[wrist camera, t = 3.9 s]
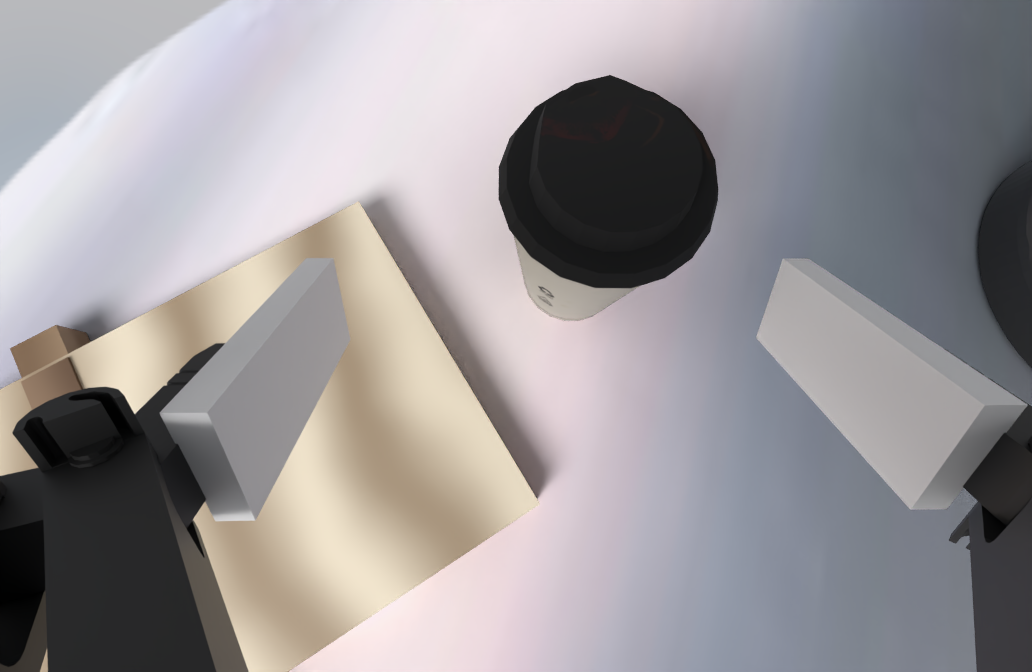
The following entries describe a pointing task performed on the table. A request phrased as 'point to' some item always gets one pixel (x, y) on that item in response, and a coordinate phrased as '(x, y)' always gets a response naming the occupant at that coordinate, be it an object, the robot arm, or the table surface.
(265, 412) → the robot arm
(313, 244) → the subfloor panel
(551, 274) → the coffee cup
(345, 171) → the table surface
